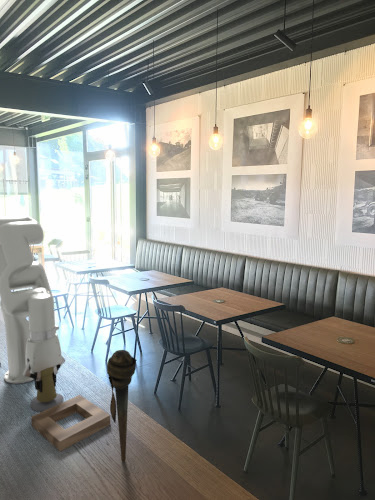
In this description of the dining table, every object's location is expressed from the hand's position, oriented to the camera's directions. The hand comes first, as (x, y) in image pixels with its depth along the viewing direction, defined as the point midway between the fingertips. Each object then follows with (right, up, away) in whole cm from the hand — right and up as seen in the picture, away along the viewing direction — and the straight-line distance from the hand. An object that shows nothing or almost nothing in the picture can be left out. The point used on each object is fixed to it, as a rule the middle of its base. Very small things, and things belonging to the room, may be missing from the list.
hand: (46, 387), depth 124 cm
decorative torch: (+29, -10, -25) cm, 39 cm away
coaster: (0, -5, +1) cm, 5 cm away
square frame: (+11, -7, -10) cm, 17 cm away
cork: (0, -3, +1) cm, 3 cm away
